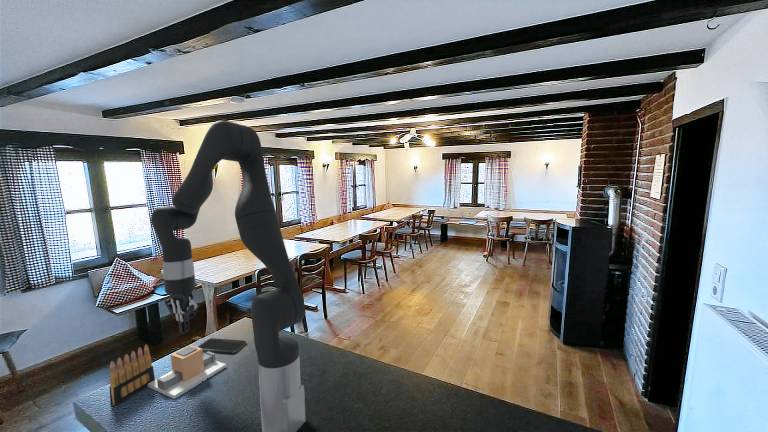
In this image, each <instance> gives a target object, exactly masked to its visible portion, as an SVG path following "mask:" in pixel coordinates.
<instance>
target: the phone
mask: <svg viewBox="0 0 768 432" xmlns="http://www.w3.org/2000/svg"><path fill="white" fill-rule="evenodd" d="M246 345H247V341H246V340H240V339H239V340H238V339H225V338H214V337H212V338H208V339H206V340H205V341H204V342H203V343H201V344H200V345H198V346H197V347H199V348H202V350H203V353H206V352H208V351H209V352H212V353H215V354H223V355H235V354H238V352H239V351H240V350H241V349H243V348H244V347H245V346H246Z"/></svg>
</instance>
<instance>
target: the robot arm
mask: <svg viewBox="0 0 768 432" xmlns="http://www.w3.org/2000/svg"><path fill="white" fill-rule="evenodd" d="M222 160H225V161H229V162H236V163H237V162H238V165H239V167H240V171H241V176H242V188H241V190H240V193H239V196H238V199H237V202H236V205H235V209H234V217H235V222H236V226H237V229H238V233H239V237H240V240H241V242H242V244H243V245H244V246H245V248H246V249H247V250H248V251H249V252H250V253H251V254H252V255H253V256H254V257H255V258H257V259H258V260H259V261H260V262H261V263H262V264H263V265H264V267H266V269H267V270H268V272H269V273H270V275H271V277H272V279H273V282H274V285H275V288H276V289H273V290H270V291H266V292H264V293H261V294H258V295H256V296H255V297H254V298H253V300H252V302H251V306H250V307H251V308H250V310H251V311H250V312H251V313H250V316H251V323H252V331H253V341H254V347H255V352H256V356H257V363H258V364H257V366H258V384H259V385H258V386H259V401H260V402H259V403H260V404H259V405H260V419H261V431H262V432H298V430H299V429H300V428H301V427H302V426H303V425H304V424H305V423H306V402H305V401H306V400H305V399H306V398H305V385H303V384H301V364H300V345H299V343H298V341H297V340H296V339H295V338H292V337H290V336H289V337H288V336H279V333H280V332H281V331H283V330H286V329H289V328H290V327H292V326H295V325H297V324H299V323H301V322H302V321H304V317H305V314H306V307H305V305H306V304H305V300H304V297H303V293H302V291H301V288H300V284H299V283H298V280H297V278H296V277H297V276H296V274H295V273H294V270H293V266H292V264H291V261H290V258H289V255H288V252H287V249H286V245H285V242H284V237H283V235H282V230H281V226H280V225H281V224H280V222H279V218H278V214H277V211H276V208H275V204H274V202H273V198H272V193H271V190H270V186H269V181H268V178H267V172H266V167H265V161H264V155H263V149H262V144H261V139H260V136H259V135H258V133H257V131H256V130H255V129H253V127H250V126H247V125H244V124H239V123H237V122H233V121H229V120H220V119H219V120H217V121H215V122H214V123H212V124H211V125H210V126H209V128H208V130H207V132H206V133H205V135H204V137H203V139H202V142H201V144H200V147H199V149H198V151H197V153H196V155H195V158H194V160H193V163H192V165H191V168H190V170H189V172H188V174H187V175H186V177H185V178H184V180H183V181H182V183H181V184H180V186H178V188H177V190H176V191H175V192H174V194H173V196H172V199H171V200H172V205H169V206H168V205H167V206H166V205H165V206H159V207H157V208H155V209H154V210H153V212H152V213H151V217H150V222H151V226H152V228H153V230H154V232H155V234H156V237H157V239H158V241H159V244H160V246H161V252H162V253H161V254H162V264H163V265H162V275H163V276H162V277H163V285H164V286H163V287H164V293H165V294H166V295H168V297H169V298H168V299H165V300H164V304H165V306H166V307H167V309H168V312H169V313H170V316H171V317H172V319H174V318H175V320H176V321H177V323H178V331H179V333H180V334H182V335H184V334H186V333H189V332H190V330H191V329H190V328H191V325H190V320H191V319H193V318H195V316H196V314H197V312H198V310H199V309H200V306H201V304H200V303H199V302H195V301H194V295H193V291H194V290H195V289H196V278H195V264H194V261H193V253H192V245H191V241H190V239H188V238H186V237H177V236H176V234H175V233H174V232H175V231H183V230H186V229H189V228H192V226H194V225H195V224H196V222H197V219H198V215H199V212H200V209H201V207H202V206H203V205H204V203H205V202H206V201H207V200H208V199H209V197H210V196H211V194H212V191H213V189H214V180H213V169H214V168H215V167H216V166H217V164H218V163H220V162H221V161H222Z"/></svg>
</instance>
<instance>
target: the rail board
mask: <svg viewBox="0 0 768 432" xmlns="http://www.w3.org/2000/svg"><path fill="white" fill-rule="evenodd" d="M203 362H204V371H202V372H201V373H199V374H197V375H195V376H194V377H192V378H190V379H189V380H187V381H185V382H184V381H182V373H181V372H178V371H175V372H172V370H171V371H169V372H167V373H166V374H164V375H161V376H159V377H158V378H155V380H154V381H152V382H150V383H148V387H147V388H149V389H151V390H154V391H155V392H158V393H160V394H163V395H164V396H166V397H169V398H171V399H174V400H176V399H177V398H179V397H181V396H182V395H184V394H185V393H186V392H188V391H189V390H191V389H193V388H195V387H197V386H199V384H201V383H203V382H205V381H206V380H207V378H208V379H209V378H210V377H212V376H215V374H217V373H219V372H220V371H222V370H223V369H225V368H227V364H226V363H224V362H220V361H218V360H216V353H212V352H209V351H208V352H205V354H203ZM202 381H203V382H202Z"/></svg>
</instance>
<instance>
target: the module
mask: <svg viewBox="0 0 768 432" xmlns="http://www.w3.org/2000/svg"><path fill="white" fill-rule="evenodd" d="M203 353H204V352H203V350H202V348H199V347H198V346H195V345H192V344H189V345H188V346H186V347H183V348H182V349H180V350H177V351H176V352H174V353H171V354H170V360H171V371H172V372H175V371H178V372H181V373H182V381H184V382H185V381H187V380H189V379H190V378H192V377H194V376H195V375H197V374H199V373H201V372H202V371H204V362H203V356H204V354H203Z"/></svg>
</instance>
